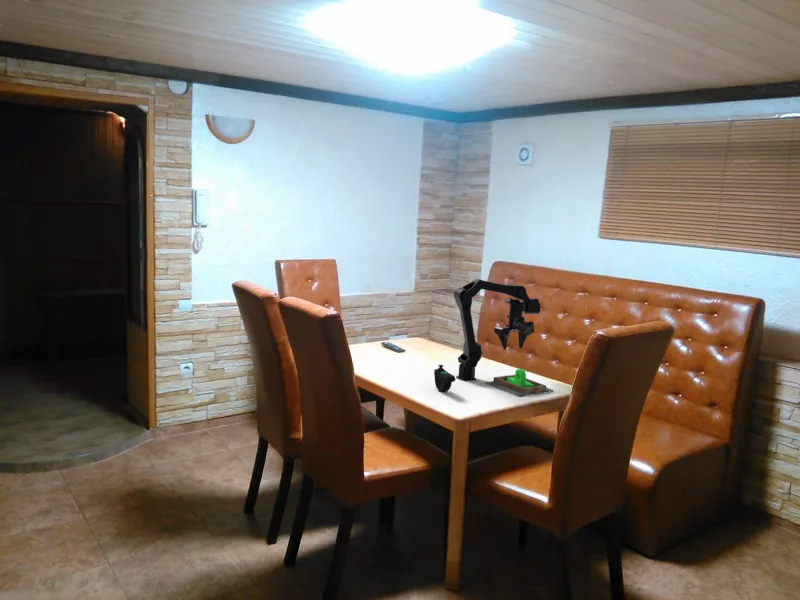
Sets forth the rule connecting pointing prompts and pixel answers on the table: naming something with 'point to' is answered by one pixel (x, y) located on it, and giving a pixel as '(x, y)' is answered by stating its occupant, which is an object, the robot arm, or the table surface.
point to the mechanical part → (520, 379)
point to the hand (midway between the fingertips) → (512, 348)
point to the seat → (518, 390)
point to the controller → (443, 379)
